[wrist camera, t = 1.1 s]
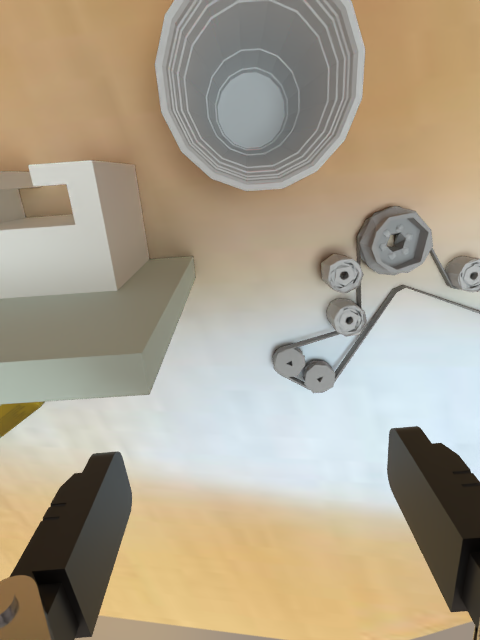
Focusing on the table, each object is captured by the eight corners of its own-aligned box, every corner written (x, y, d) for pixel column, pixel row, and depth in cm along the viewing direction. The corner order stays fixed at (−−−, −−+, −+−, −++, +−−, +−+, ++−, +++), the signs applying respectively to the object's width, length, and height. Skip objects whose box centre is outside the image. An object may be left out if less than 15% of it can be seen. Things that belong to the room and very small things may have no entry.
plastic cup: (206, 201, 33) (191, 215, 21) (165, 58, 29) (121, -16, 18) (330, 166, 32) (382, 161, 20) (304, 14, 28) (351, -95, 17)
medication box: (-15, 442, 42) (-39, 469, 38) (-36, 427, 41) (-62, 452, 37) (59, 384, 39) (41, 406, 36) (39, 366, 38) (18, 387, 35)
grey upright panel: (-54, 178, 32) (-470, 183, 13) (182, 161, 31) (103, 140, 13) (-17, 292, 35) (-301, 423, 17) (195, 277, 35) (149, 394, 16)
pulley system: (234, 262, 36) (285, 395, 40) (234, 270, 31) (292, 419, 35) (522, 152, 33) (544, 305, 38) (568, 143, 29) (586, 319, 33)
